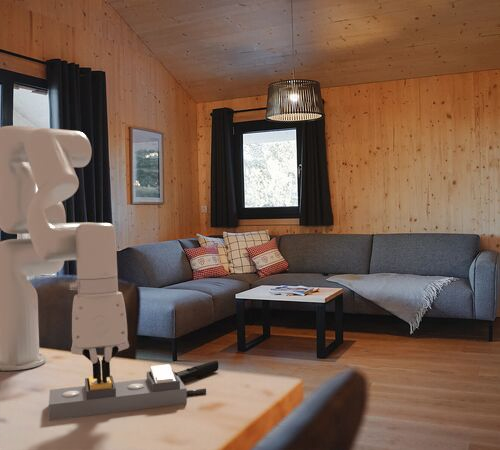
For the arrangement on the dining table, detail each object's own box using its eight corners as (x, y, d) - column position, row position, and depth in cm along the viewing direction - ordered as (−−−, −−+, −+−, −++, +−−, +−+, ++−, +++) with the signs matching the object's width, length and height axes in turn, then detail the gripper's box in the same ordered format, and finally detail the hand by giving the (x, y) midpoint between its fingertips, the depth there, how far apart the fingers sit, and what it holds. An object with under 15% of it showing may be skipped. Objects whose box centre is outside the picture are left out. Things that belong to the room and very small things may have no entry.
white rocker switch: (150, 370, 119) (150, 364, 118) (169, 368, 120) (169, 362, 120) (155, 387, 112) (155, 381, 112) (175, 385, 113) (175, 378, 113)
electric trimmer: (222, 374, 134) (222, 361, 134) (172, 390, 122) (172, 375, 122) (211, 371, 136) (211, 358, 136) (161, 386, 125) (161, 372, 125)
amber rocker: (88, 381, 115) (88, 374, 115) (108, 379, 116) (108, 372, 116) (90, 390, 108) (90, 383, 108) (111, 387, 109) (111, 380, 109)
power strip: (50, 404, 114) (49, 381, 113) (200, 386, 123) (200, 365, 123) (49, 420, 105) (48, 396, 105) (211, 400, 115) (210, 377, 115)
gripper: (56, 292, 103) (60, 392, 103) (139, 286, 108) (143, 381, 108) (57, 287, 110) (61, 381, 110) (135, 282, 115) (138, 372, 115)
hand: (101, 381), depth 109 cm, fingers closed
